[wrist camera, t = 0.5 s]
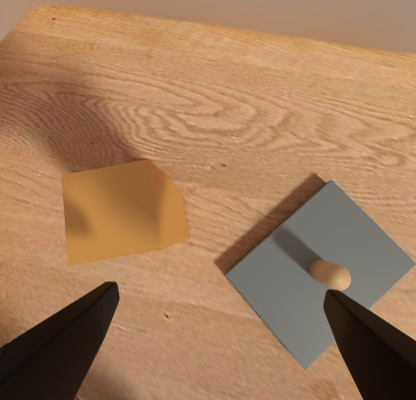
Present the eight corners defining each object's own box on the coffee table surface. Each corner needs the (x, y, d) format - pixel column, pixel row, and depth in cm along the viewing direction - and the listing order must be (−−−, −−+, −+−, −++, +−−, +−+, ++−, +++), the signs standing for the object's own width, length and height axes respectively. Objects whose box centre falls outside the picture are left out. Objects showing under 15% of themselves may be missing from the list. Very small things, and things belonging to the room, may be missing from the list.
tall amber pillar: (189, 238, 24) (160, 249, 12) (143, 246, 24) (68, 265, 12) (182, 192, 24) (148, 158, 13) (137, 200, 25) (61, 175, 13)
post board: (300, 363, 21) (322, 399, 17) (225, 273, 23) (226, 284, 18) (407, 262, 22) (454, 270, 18) (327, 182, 24) (352, 171, 19)
